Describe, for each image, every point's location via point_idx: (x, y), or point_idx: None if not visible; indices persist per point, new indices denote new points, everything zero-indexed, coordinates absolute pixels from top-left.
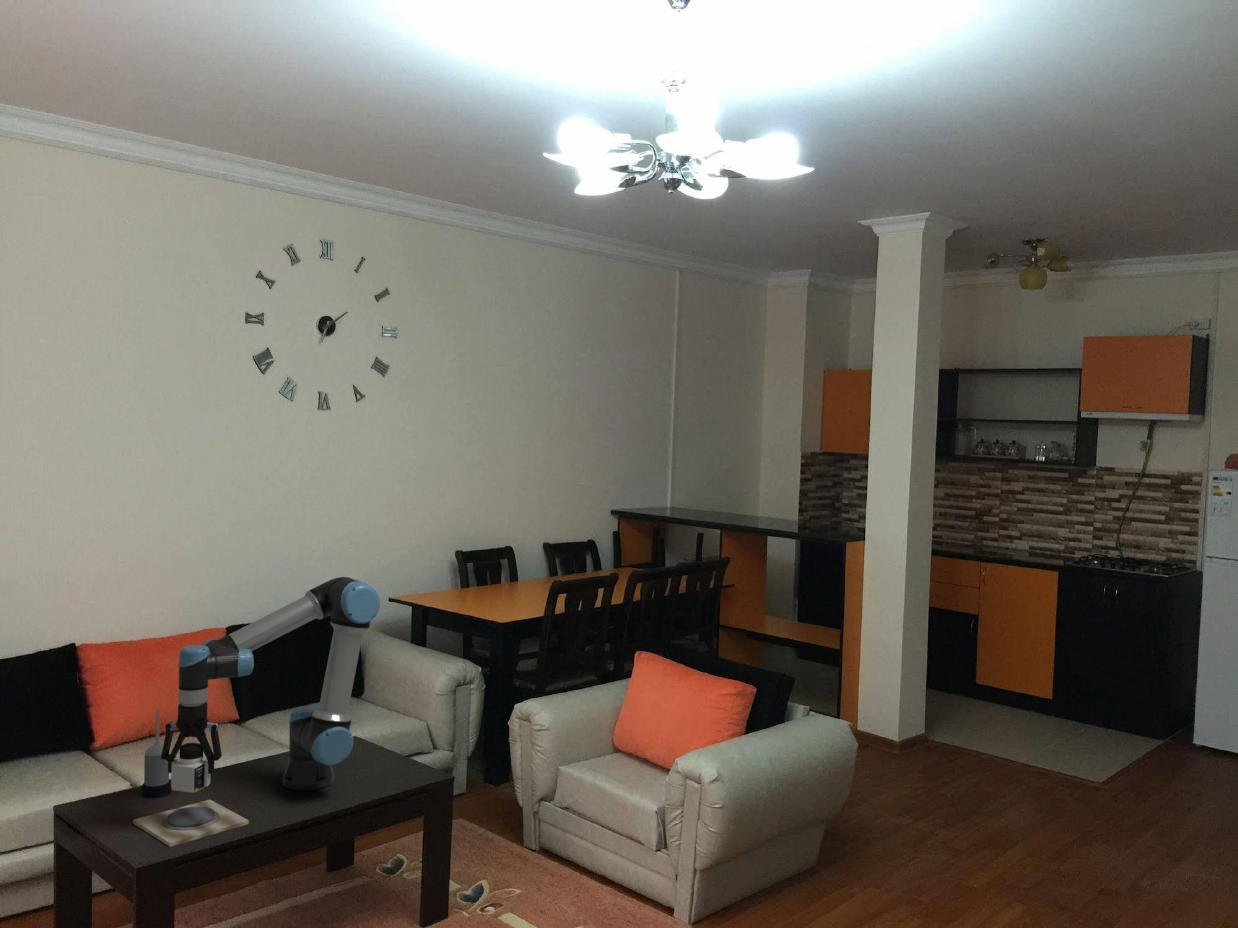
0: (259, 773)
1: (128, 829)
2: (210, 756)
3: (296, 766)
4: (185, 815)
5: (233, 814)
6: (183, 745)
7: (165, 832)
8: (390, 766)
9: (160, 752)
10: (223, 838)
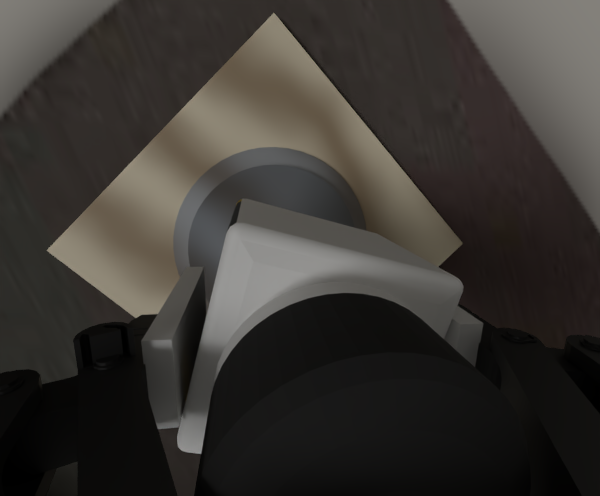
0: None
1: (456, 189)
2: (78, 391)
3: None
4: None
5: (137, 305)
6: (503, 489)
7: (326, 128)
8: None
9: None
10: (93, 100)
